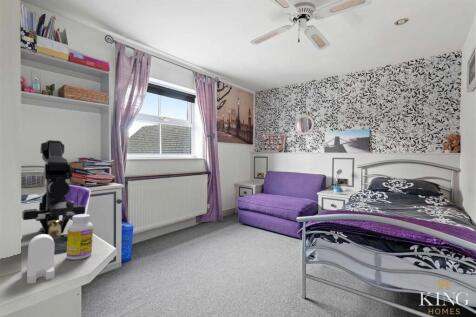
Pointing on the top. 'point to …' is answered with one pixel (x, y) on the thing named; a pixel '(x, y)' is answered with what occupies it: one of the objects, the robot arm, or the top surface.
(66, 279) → the top surface
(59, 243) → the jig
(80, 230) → the supplement bottle
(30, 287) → the top surface
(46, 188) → the robot arm
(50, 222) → the gold rounded cylinder
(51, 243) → the cable organizer
